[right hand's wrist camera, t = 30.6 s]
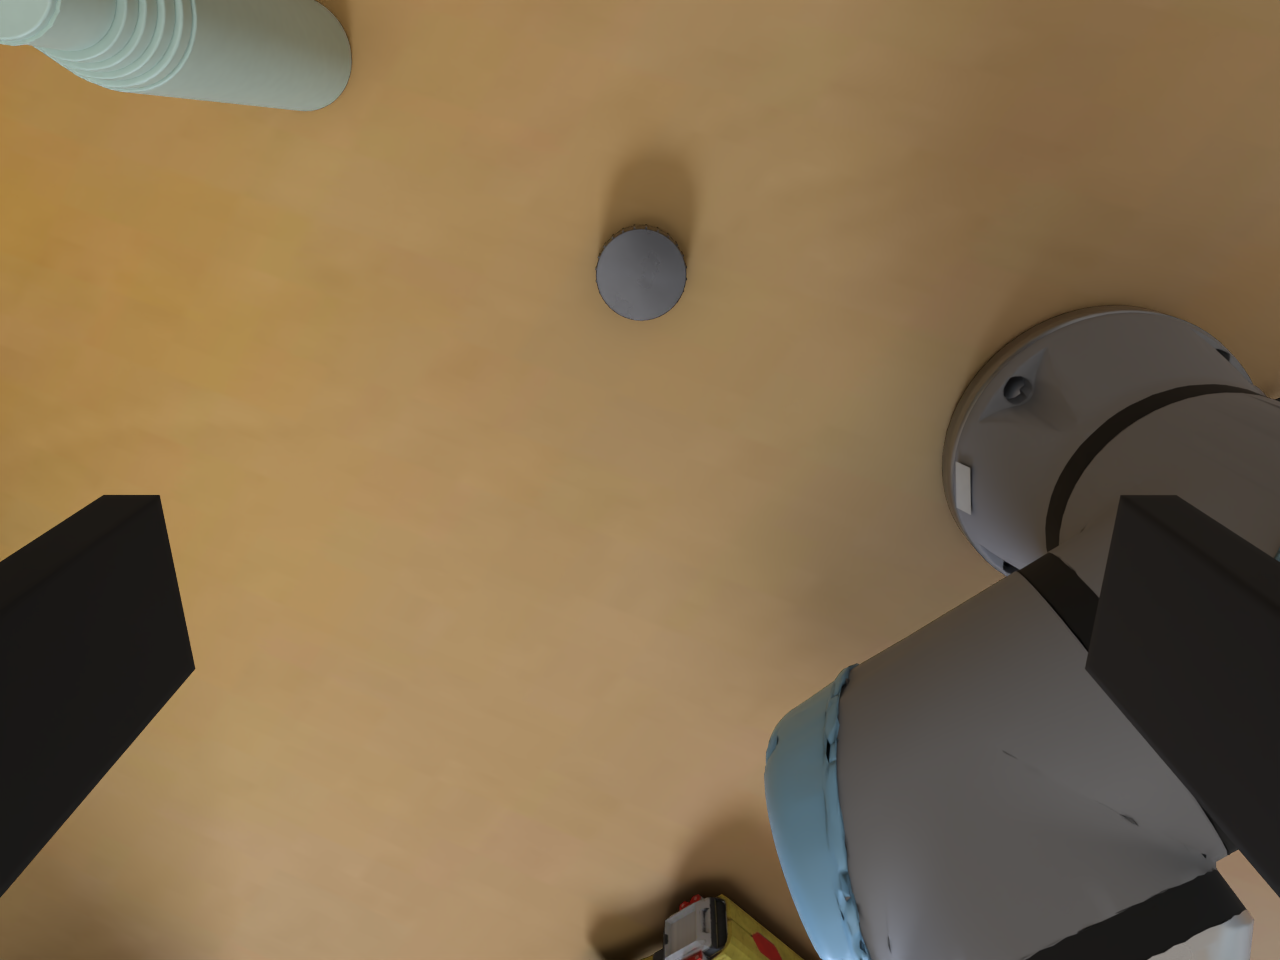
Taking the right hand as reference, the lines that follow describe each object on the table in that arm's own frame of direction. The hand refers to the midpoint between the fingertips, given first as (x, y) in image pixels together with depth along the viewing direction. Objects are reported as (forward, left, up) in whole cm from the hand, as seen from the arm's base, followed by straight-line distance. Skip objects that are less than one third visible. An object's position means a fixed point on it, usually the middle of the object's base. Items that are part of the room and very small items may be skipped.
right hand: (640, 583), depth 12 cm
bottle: (+14, -12, -33) cm, 38 cm away
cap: (0, 0, -32) cm, 32 cm away
